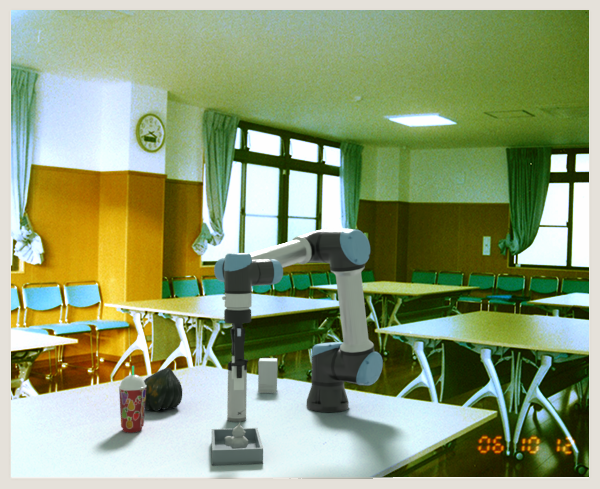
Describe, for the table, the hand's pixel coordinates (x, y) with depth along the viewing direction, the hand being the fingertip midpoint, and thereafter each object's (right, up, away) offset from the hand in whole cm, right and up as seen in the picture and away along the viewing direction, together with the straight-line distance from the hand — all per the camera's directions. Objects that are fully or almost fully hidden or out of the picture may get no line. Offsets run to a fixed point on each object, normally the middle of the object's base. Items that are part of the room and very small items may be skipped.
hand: (237, 384), depth 181 cm
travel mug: (-3, -19, +34) cm, 39 cm away
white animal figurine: (0, -19, 0) cm, 19 cm away
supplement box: (+5, -19, +75) cm, 78 cm away
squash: (-32, -19, +47) cm, 60 cm away
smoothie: (-35, -19, +20) cm, 44 cm away
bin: (0, -19, 0) cm, 19 cm away
